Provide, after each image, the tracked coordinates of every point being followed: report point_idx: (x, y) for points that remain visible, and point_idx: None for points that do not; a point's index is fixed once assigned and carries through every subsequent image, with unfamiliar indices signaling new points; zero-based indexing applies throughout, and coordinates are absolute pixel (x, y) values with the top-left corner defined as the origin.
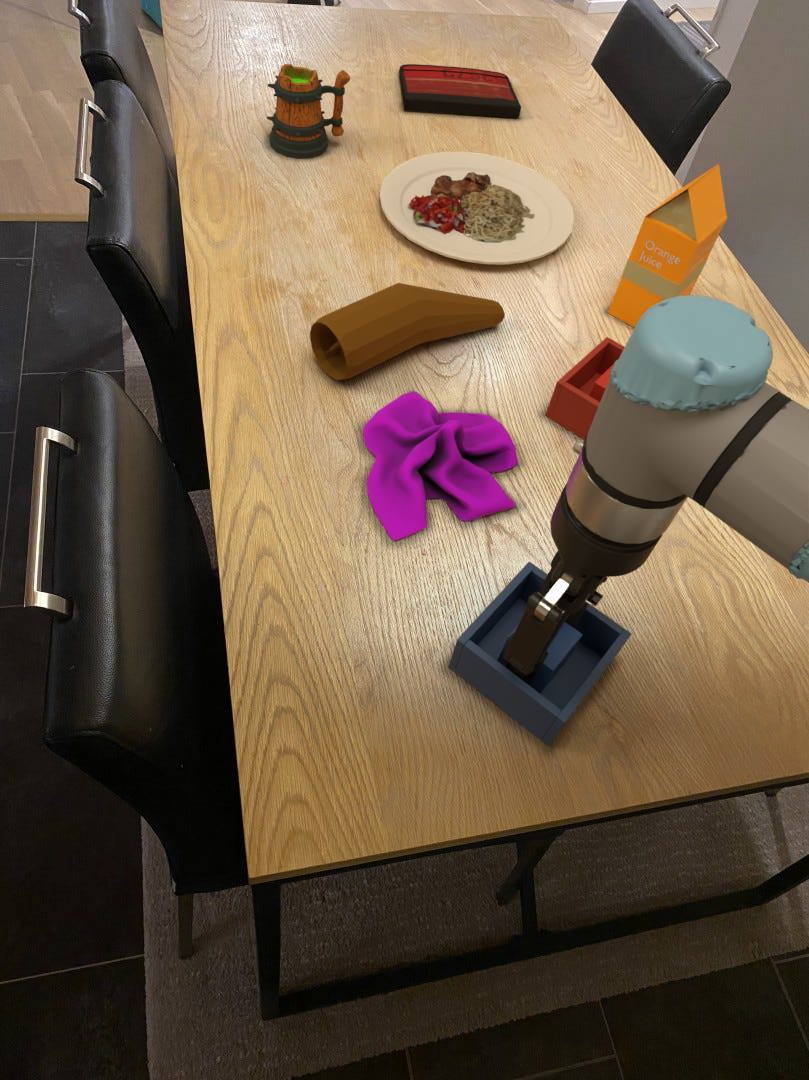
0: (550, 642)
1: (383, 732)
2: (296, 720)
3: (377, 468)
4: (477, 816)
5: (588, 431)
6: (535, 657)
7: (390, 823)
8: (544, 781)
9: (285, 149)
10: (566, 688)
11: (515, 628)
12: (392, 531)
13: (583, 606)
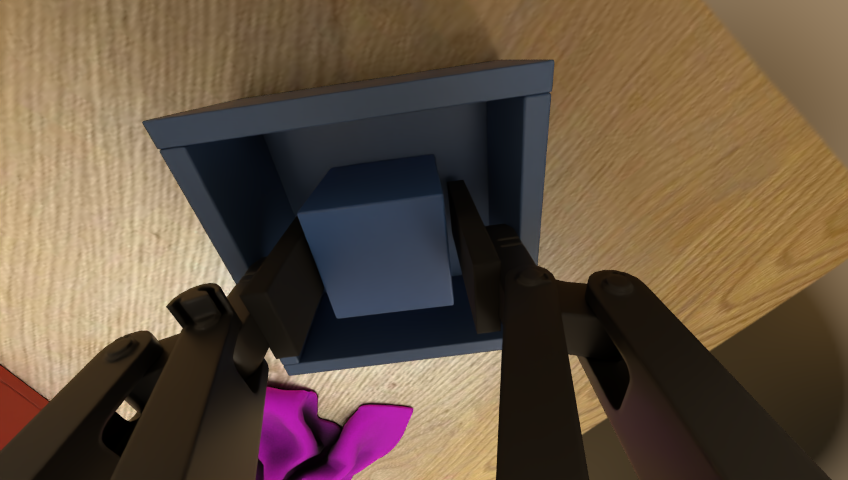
0: (552, 359)
1: (643, 259)
2: (682, 323)
3: (363, 466)
4: (709, 59)
5: (20, 417)
6: (755, 402)
7: (777, 158)
8: (571, 5)
9: None
10: (379, 125)
11: (426, 307)
12: (404, 416)
13: (258, 300)
